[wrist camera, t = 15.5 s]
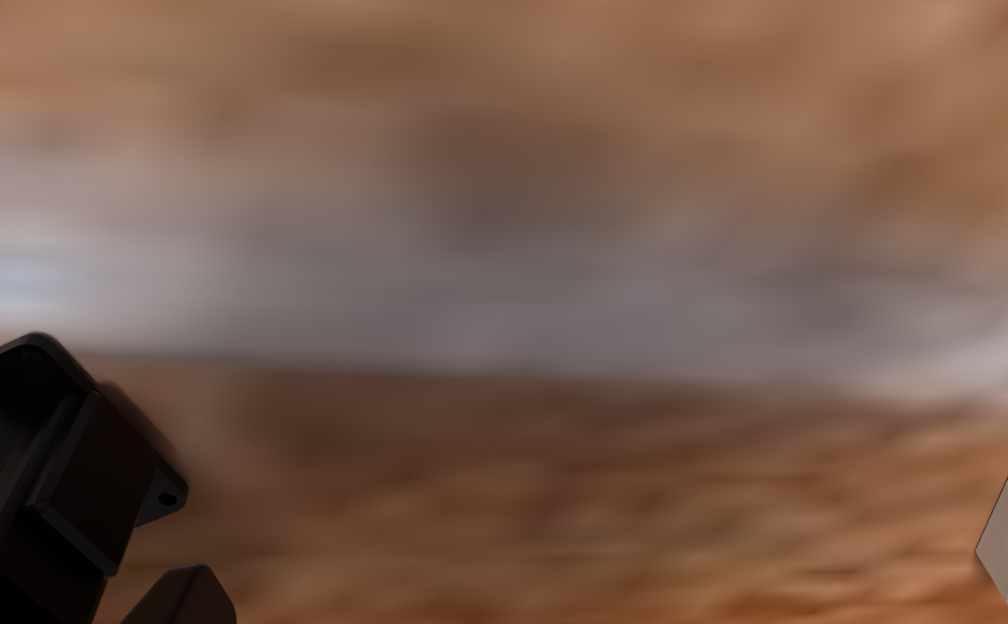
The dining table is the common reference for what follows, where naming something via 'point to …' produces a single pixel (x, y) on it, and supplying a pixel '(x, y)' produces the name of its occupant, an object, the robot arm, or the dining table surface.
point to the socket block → (997, 544)
